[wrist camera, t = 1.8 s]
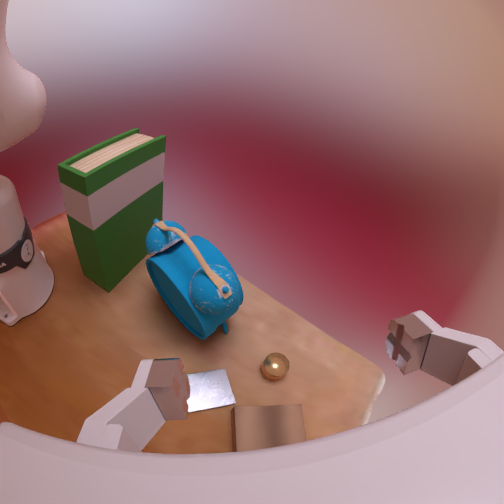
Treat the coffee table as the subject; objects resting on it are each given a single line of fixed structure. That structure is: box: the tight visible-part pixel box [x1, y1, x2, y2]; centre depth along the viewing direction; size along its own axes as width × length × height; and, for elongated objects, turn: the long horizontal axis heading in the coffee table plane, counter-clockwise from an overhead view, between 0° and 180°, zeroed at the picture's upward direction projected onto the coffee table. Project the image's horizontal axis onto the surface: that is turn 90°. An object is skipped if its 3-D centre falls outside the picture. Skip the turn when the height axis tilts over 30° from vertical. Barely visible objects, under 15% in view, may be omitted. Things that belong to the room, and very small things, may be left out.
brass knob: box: [260, 353, 289, 381], centre depth 41 cm, size 4×4×3 cm
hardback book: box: [58, 128, 166, 292], centre depth 44 cm, size 18×7×24 cm, turn 157°
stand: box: [231, 404, 306, 452], centre depth 32 cm, size 10×10×3 cm
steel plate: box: [187, 369, 236, 413], centre depth 37 cm, size 8×6×1 cm
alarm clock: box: [146, 218, 243, 340], centre depth 40 cm, size 17×10×20 cm, turn 47°
